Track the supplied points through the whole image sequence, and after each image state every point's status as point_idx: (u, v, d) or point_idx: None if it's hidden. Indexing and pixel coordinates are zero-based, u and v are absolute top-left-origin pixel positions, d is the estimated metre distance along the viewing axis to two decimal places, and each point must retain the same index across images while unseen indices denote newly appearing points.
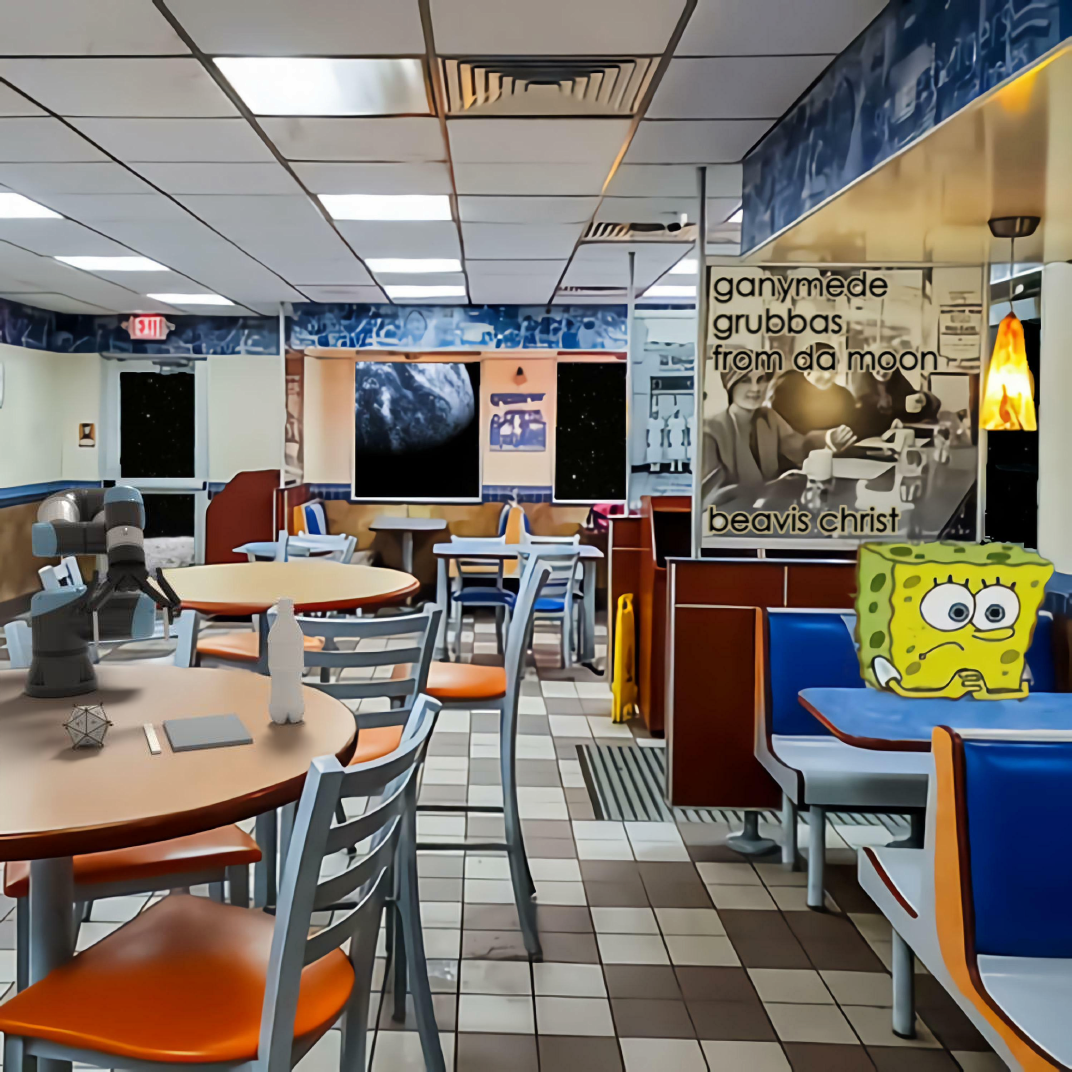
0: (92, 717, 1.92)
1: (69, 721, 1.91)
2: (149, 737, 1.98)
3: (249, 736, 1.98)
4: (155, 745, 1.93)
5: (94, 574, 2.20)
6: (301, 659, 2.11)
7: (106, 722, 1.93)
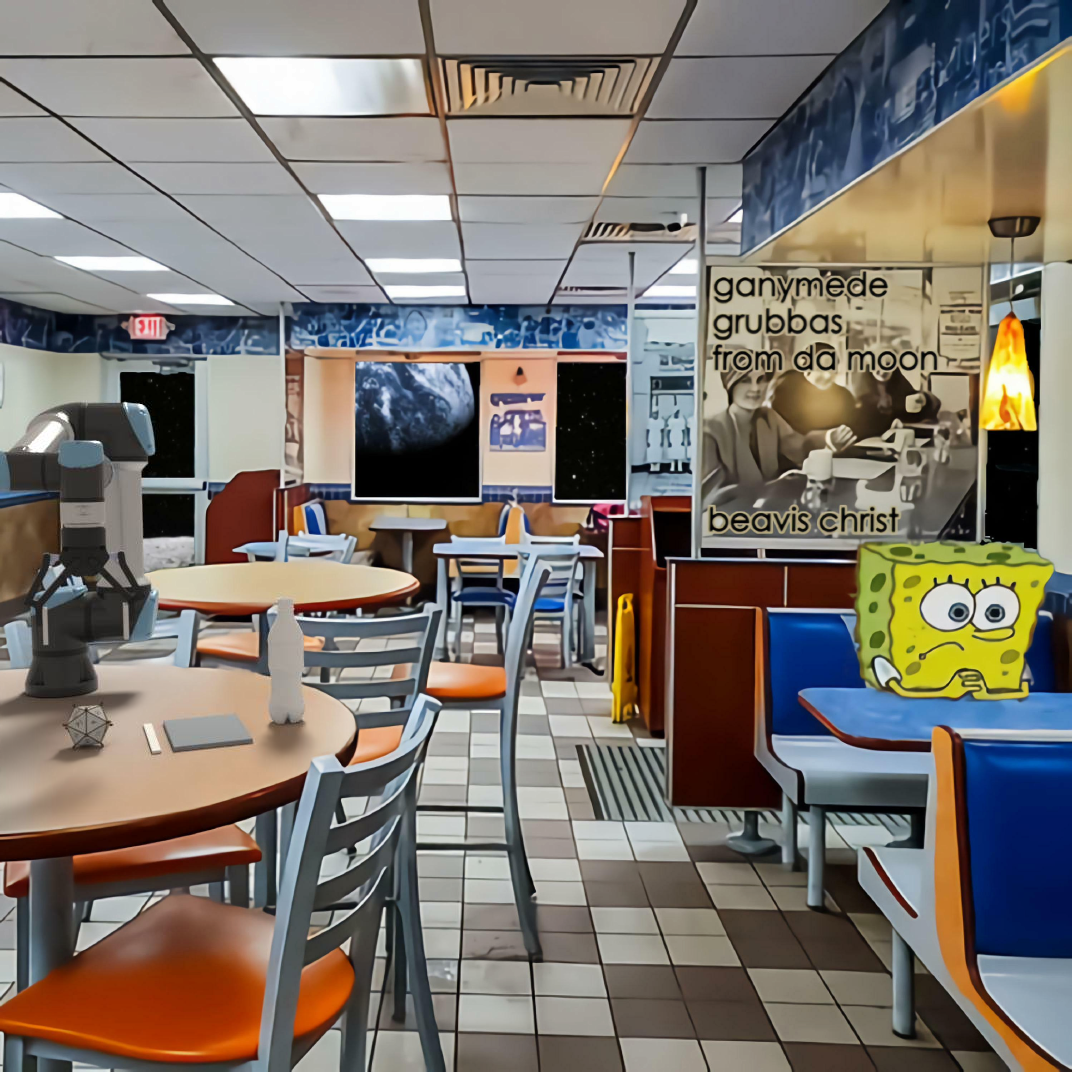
0: (92, 717, 1.92)
1: (69, 721, 1.91)
2: (149, 737, 1.98)
3: (249, 736, 1.98)
4: (155, 745, 1.93)
5: (44, 559, 1.88)
6: (301, 659, 2.11)
7: (106, 722, 1.93)
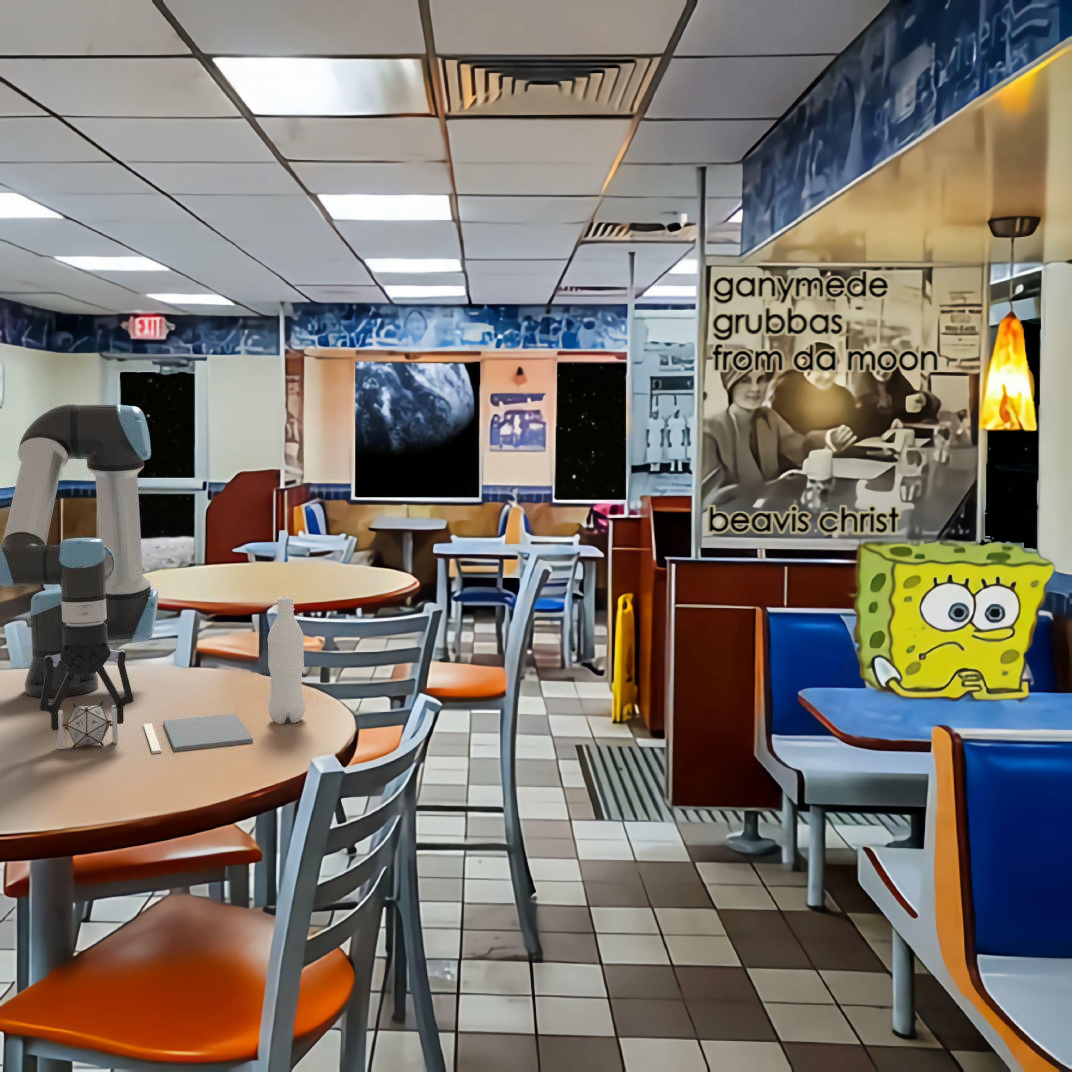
0: (92, 717, 1.92)
1: (69, 721, 1.91)
2: (149, 737, 1.98)
3: (249, 736, 1.98)
4: (155, 745, 1.93)
5: (47, 663, 1.89)
6: (301, 659, 2.11)
7: (106, 722, 1.93)
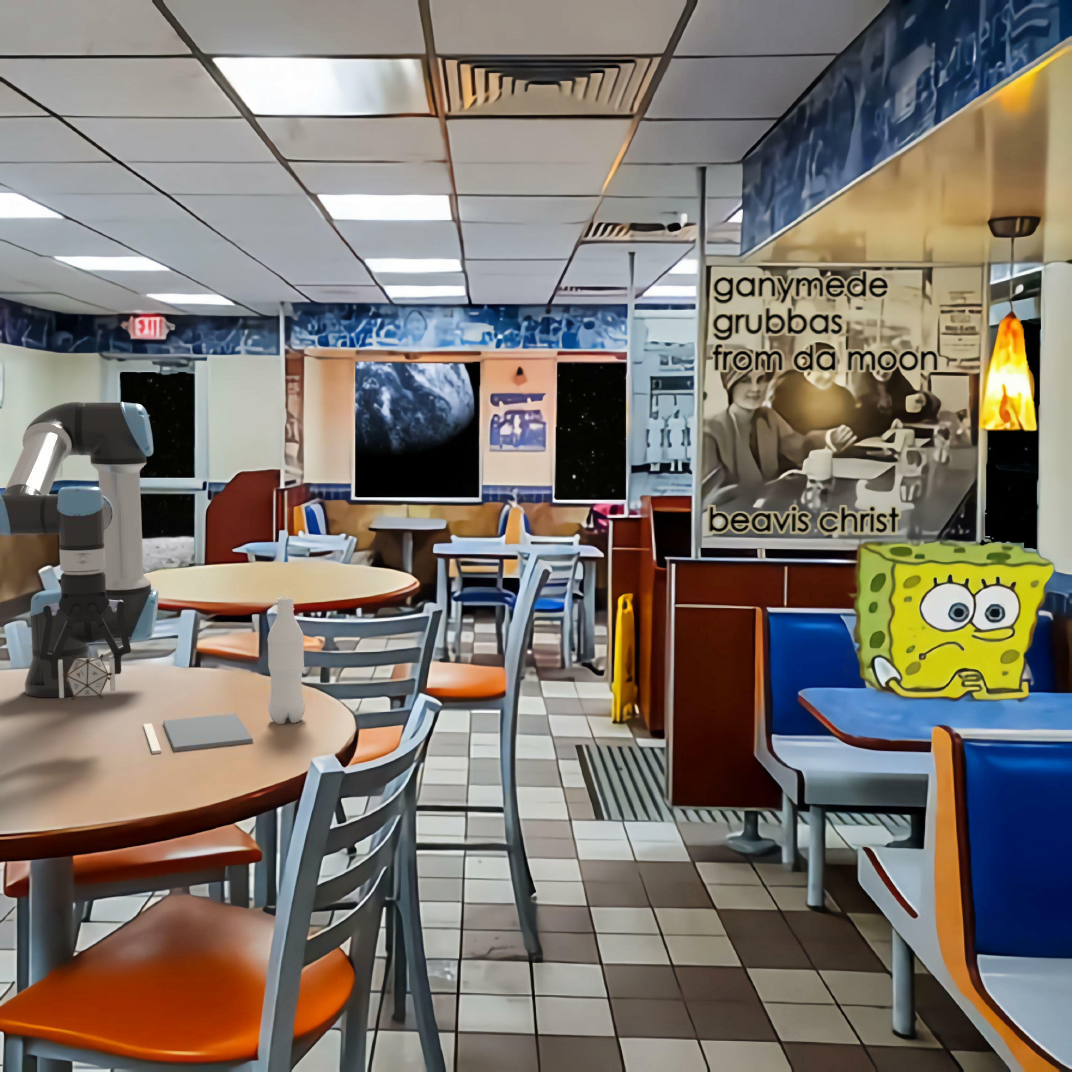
0: (93, 668, 1.92)
1: (69, 672, 1.91)
2: (149, 737, 1.98)
3: (249, 736, 1.98)
4: (155, 745, 1.93)
5: (46, 612, 1.89)
6: (301, 659, 2.11)
7: (107, 674, 1.93)
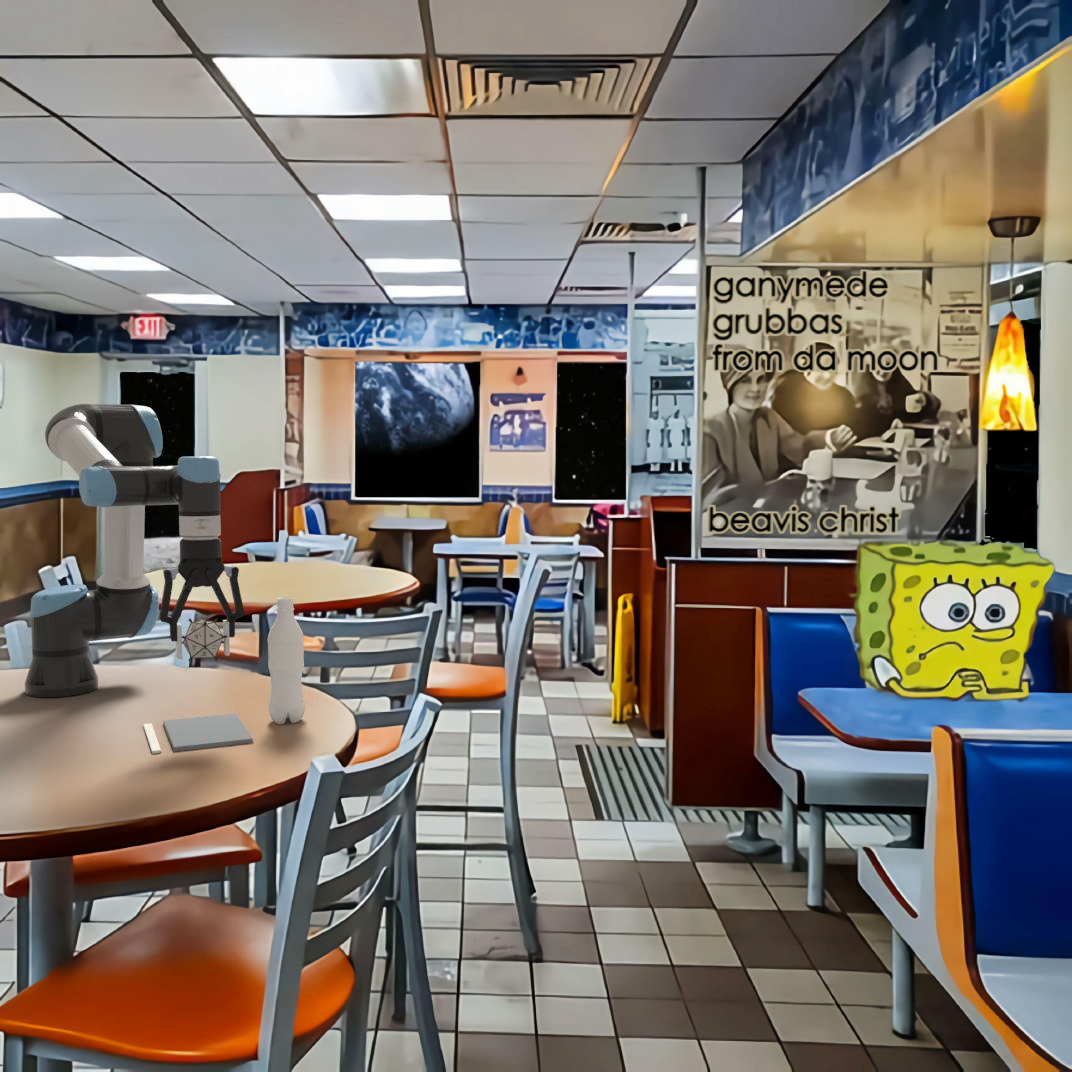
0: (210, 631, 1.99)
1: (188, 634, 1.99)
2: (149, 737, 1.98)
3: (249, 736, 1.98)
4: (155, 745, 1.93)
5: (166, 576, 1.97)
6: (301, 659, 2.11)
7: (222, 637, 2.01)
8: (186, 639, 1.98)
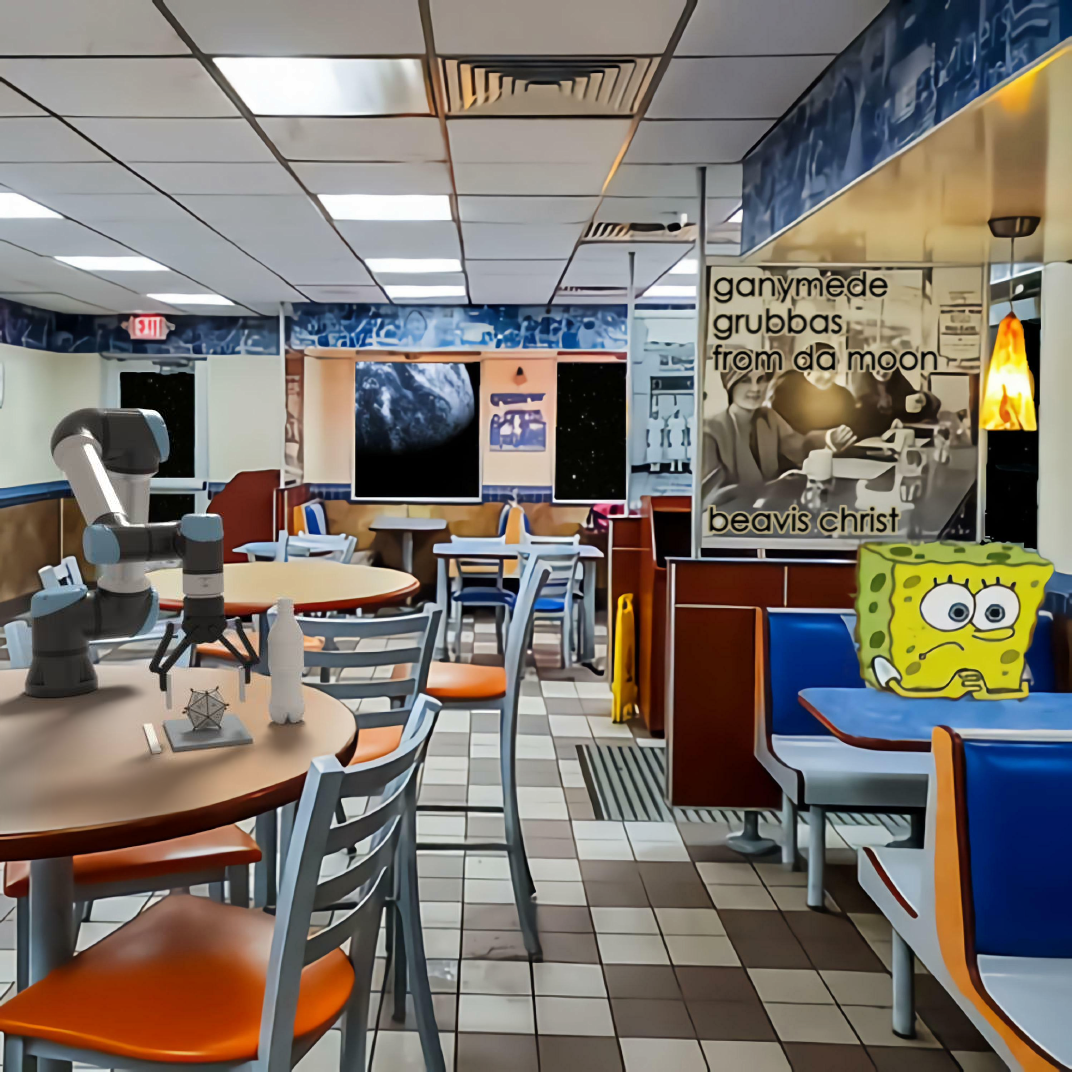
0: (212, 700, 2.01)
1: (190, 704, 2.00)
2: (149, 737, 1.98)
3: (249, 736, 1.98)
4: (155, 745, 1.93)
5: (169, 629, 1.98)
6: (301, 659, 2.11)
7: (224, 705, 2.02)
8: (189, 710, 2.00)
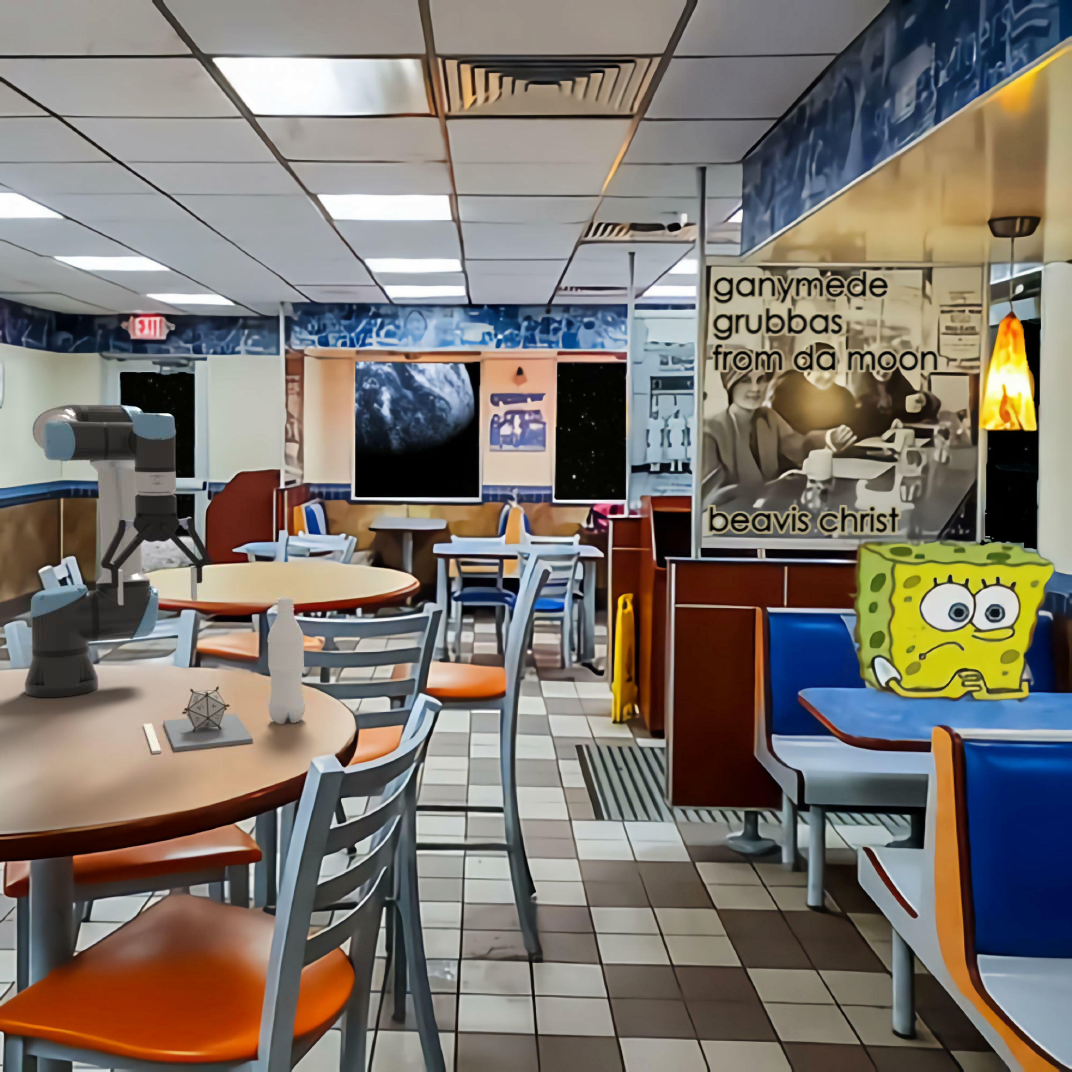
0: (212, 701, 2.01)
1: (190, 705, 2.00)
2: (149, 737, 1.98)
3: (249, 736, 1.98)
4: (155, 745, 1.93)
5: (120, 525, 2.00)
6: (301, 659, 2.11)
7: (224, 706, 2.02)
8: (189, 711, 2.00)
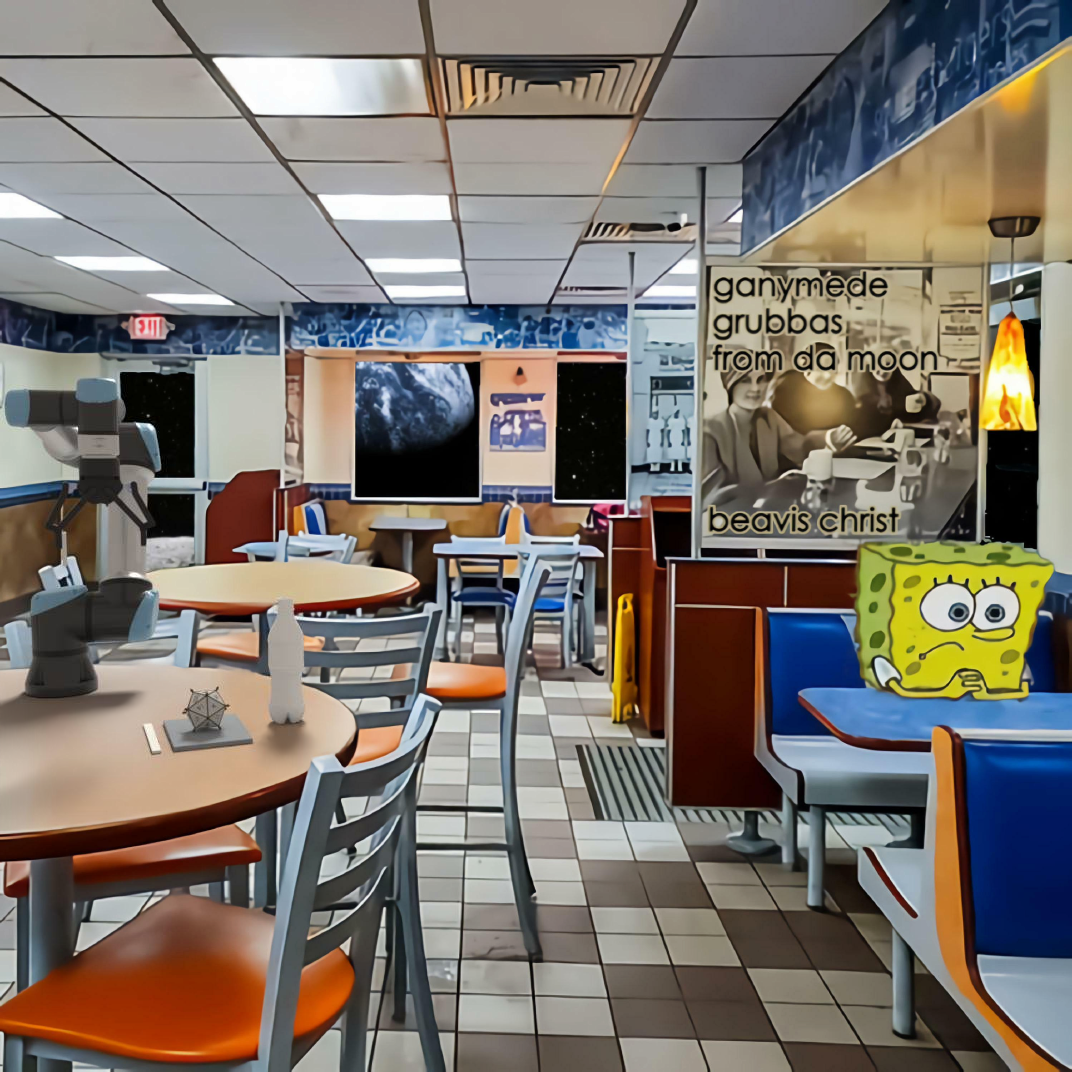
0: (212, 701, 2.01)
1: (190, 705, 2.00)
2: (149, 737, 1.98)
3: (249, 736, 1.98)
4: (155, 745, 1.93)
5: (64, 487, 2.05)
6: (301, 659, 2.11)
7: (224, 706, 2.02)
8: (189, 711, 2.00)
